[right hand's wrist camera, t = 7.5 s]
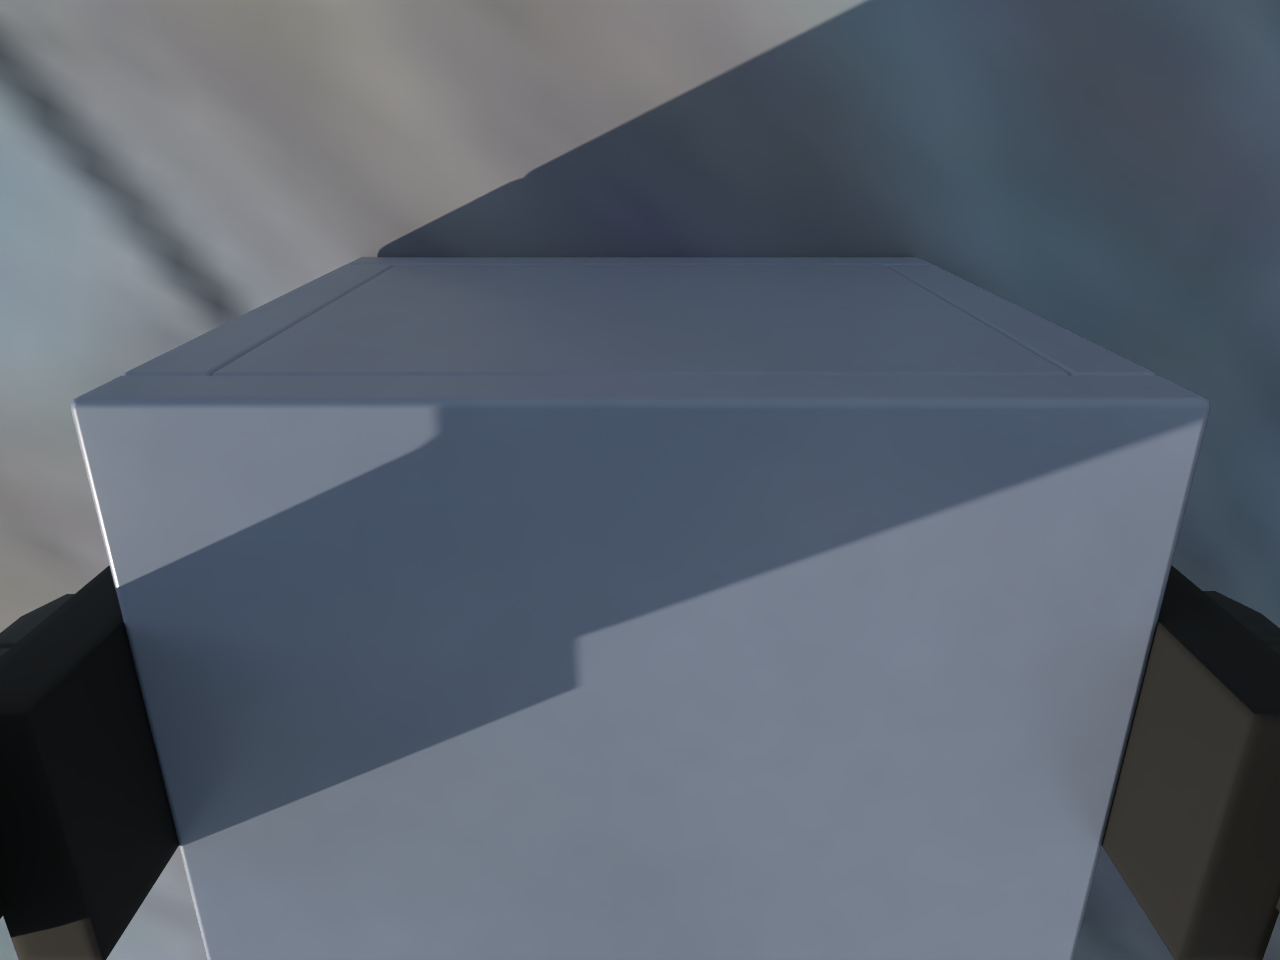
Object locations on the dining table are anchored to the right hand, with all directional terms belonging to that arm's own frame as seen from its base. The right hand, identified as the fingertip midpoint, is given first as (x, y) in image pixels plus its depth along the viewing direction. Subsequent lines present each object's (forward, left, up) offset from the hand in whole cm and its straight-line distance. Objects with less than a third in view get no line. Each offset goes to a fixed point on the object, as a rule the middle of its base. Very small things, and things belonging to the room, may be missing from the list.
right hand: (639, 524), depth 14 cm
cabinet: (+6, +3, -3) cm, 7 cm away
